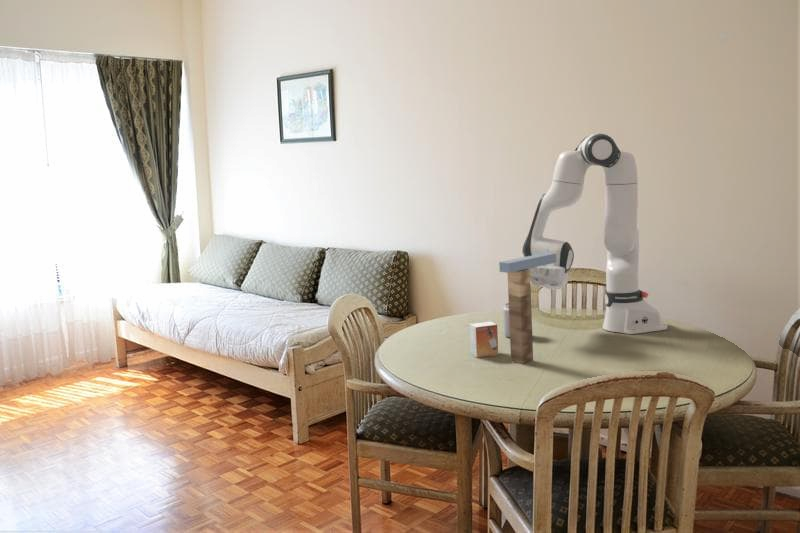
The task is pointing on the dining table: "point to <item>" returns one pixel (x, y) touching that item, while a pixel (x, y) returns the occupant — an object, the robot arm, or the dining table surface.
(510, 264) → the blue bar
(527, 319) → the stand
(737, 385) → the dining table surface
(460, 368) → the dining table surface
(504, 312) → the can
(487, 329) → the small box
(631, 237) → the robot arm
